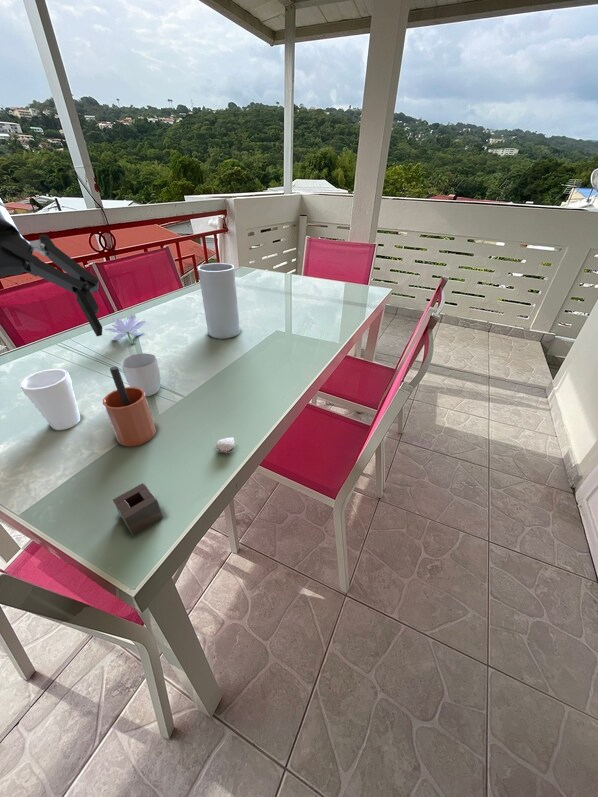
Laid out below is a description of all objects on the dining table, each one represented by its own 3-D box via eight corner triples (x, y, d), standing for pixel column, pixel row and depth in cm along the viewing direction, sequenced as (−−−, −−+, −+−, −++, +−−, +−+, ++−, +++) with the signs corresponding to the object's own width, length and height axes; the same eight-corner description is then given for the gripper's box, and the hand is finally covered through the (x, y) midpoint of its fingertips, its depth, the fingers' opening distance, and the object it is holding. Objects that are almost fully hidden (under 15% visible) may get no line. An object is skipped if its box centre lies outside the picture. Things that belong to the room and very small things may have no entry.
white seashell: (213, 452, 76) (211, 444, 74) (225, 439, 79) (224, 431, 78) (229, 457, 74) (228, 449, 73) (241, 444, 78) (240, 436, 77)
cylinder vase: (214, 342, 124) (203, 273, 110) (204, 330, 133) (193, 265, 119) (245, 335, 129) (239, 268, 115) (233, 324, 138) (226, 261, 124)
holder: (120, 516, 61) (112, 499, 58) (149, 499, 65) (143, 482, 62) (133, 536, 58) (125, 519, 55) (163, 517, 61) (157, 499, 59)
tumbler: (109, 440, 78) (93, 403, 72) (136, 420, 85) (123, 384, 79) (138, 450, 76) (124, 412, 70) (163, 428, 82) (152, 391, 76)
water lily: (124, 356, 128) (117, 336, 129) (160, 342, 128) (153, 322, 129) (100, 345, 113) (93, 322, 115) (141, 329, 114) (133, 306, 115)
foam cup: (94, 419, 85) (76, 375, 78) (57, 439, 79) (32, 394, 71) (74, 407, 89) (55, 365, 82) (37, 425, 83) (12, 381, 75)
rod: (131, 433, 80) (107, 369, 70) (136, 429, 81) (113, 365, 71) (136, 435, 79) (113, 370, 69) (141, 431, 81) (119, 367, 70)
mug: (158, 399, 93) (150, 368, 87) (126, 399, 92) (115, 368, 87) (171, 376, 103) (164, 347, 98) (141, 376, 103) (133, 347, 97)
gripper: (74, 226, 57) (134, 332, 57) (-140, 243, 42) (-60, 386, 42) (72, 191, 51) (138, 310, 51) (-179, 197, 36) (-86, 364, 36)
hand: (48, 345), depth 47 cm, fingers open, 13 cm apart
